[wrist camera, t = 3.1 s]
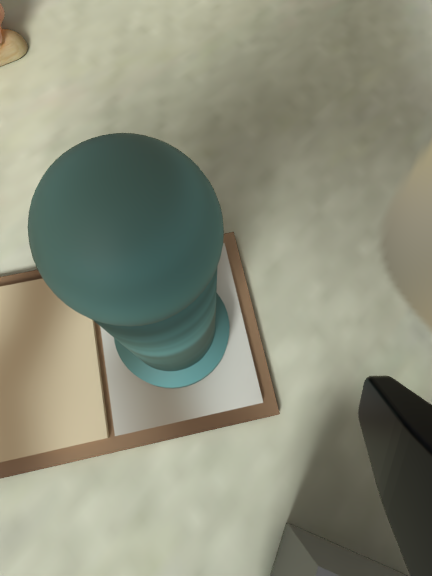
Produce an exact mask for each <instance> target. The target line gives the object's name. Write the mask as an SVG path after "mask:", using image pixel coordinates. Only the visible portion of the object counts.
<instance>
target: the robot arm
mask: <svg viewBox="0 0 432 576" xmlns="http://www.w3.org/2000/svg"><path fill="white" fill-rule="evenodd" d="M358 414H359V422H360V426H361V429H362V433H363V437H364V440H365V444H366V448H367V451H368V455H369V459H370V462H371V466H372V469H373V473H374V477H375V480H376V484H377V488H378V491H379V494H380V498H381V501H382V504H383V507H384V509H385V512H386V515H387V517H388V520H389V523H390V525H391V528H392V530H393V533H394V535H395V538H396V540H397V543H398V546H399V548H400V551H401V553H402V556H403V558H404V561H405V563H406V566H407V569H408V571H409V574H410V576H432V405H431V404H429V403H428V402H427V401H425V400H424V399H422V398H421V397H419V396H418V395H416V394H415V393H413V392H412V391H411V390H409V389H408V388H406V387H405V386H403V385H402V384H400V383H399V382H398V381H396V380H395V379H393V378H391V377H389V376H369V377H367V378H366V380H365V382H364V386H363V390H362V395H361V400H360V405H359V412H358Z"/></svg>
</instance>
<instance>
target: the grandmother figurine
mask: <svg viewBox="0 0 432 576" xmlns="http://www.w3.org/2000/svg"><path fill="white" fill-rule="evenodd" d="M4 16H5V11H4V9H3V7H2V5H1V4H0V66H3V65H5V64H8V63H10V62H13V61H15V60H18V59H20V58H21V57H22V56H24V55H25V53H26V52H27V49H28V46H27V43H26V41H25V40H24V38H23V37H22V36H21V35H20V34H18V33H17V32H15V31H13V30H9V29H2V27H1V23H2V21H3V19H4Z"/></svg>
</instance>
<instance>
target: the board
mask: <svg viewBox="0 0 432 576" xmlns="http://www.w3.org/2000/svg"><path fill="white" fill-rule="evenodd" d="M217 294H218V295H219V296H220V298H221V299H222V301H223V303H224V305H225V307H226V310H227V313H228V318H229V326H230V328H229V338H228V344H227V347H226V351H225V353H224V355H223V358H222V360H221V361H220V363H219V364H218V366H217V367H216V368H215V369H214V370H213V372H211V373H210V374H209V375H208V376H207V377H205V378H204V379H203V380H201V381H199V382H197V383H195V384H193V385H190V386H187V387H182V388H173V389H172V388H162V387H157V386H154V385H151V384H149V383H147V382H145V381H143V380H142V379H140V378H138V377H137V376H136V375H134V374H133V373H132V372H131V371H130V370H129V369H128V368H127V367H126V366H125V365H124V363H123V362H122V360H121V358H120V357H119V354H118V352H117V350H116V346H115V342H114V337H113V336H111V335H110V334H109V333H108V332H107V331H105V330H104V329H103V328H102V327H101V326H99V325H98V324H97V323H96V322H95V321H93V320H92V319H90V318H88V317H86V316H84V315H82V314H80V313H78V312H76V311H75V310H73V309H72V308H70V307H69V306H67V305H66V304H65V303H64V302H63V301H61V300H60V299H59V298H58V297H57V296H56V295H55V294H54V293H53V291H52V290H51V289H50V288H49V287H48V285H47V284H46V283H45V281H44V279H43V278H42V276H41V274H40V273H39V271H38V270H34V271H29V272H24V273H19V274H14V275H8V276H3V277H0V478H4V477H9V476H13V475H18V474H22V473H26V472H31V471H35V470H39V469H44V468H48V467H52V466H57V465H61V464H65V463H70V462H74V461H78V460H83V459H87V458H91V457H96V456H100V455H104V454H109V453H113V452H117V451H122V450H126V449H131V448H135V447H139V446H144V445H148V444H152V443H157V442H161V441H165V440H170V439H174V438H178V437H183V436H187V435H191V434H196V433H200V432H204V431H209V430H213V429H217V428H222V427H226V426H231V425H235V424H239V423H244V422H248V421H252V420H257V419H261V418H265V417H270V416H274V415H278V414H280V413H279V409H278V405H277V401H276V397H275V393H274V389H273V385H272V381H271V377H270V374H269V370H268V366H267V362H266V358H265V354H264V350H263V346H262V342H261V338H260V334H259V330H258V326H257V322H256V318H255V314H254V310H253V306H252V302H251V298H250V294H249V290H248V287H247V283H246V279H245V275H244V271H243V267H242V263H241V259H240V255H239V251H238V247H237V243H236V239H235V235H234V232H231V233H225V234H224V238H223V247H222V252H221V257H220V260H219V263H218V267H217Z"/></svg>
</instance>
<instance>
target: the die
mask: <svg viewBox="0 0 432 576" xmlns="http://www.w3.org/2000/svg"><path fill="white" fill-rule="evenodd" d="M270 576H407V575H405V574H403V573H401V572H398V571H396V570H394V569H391V568H389V567H387V566H385V565H382V564H380V563H378V562H375V561H373V560H371V559H369V558H366V557H364V556H362V555H360V554H357V553H355V552H353V551H350V550H348V549H346V548H344V547H341V546H339V545H337V544H334V543H332V542H330V541H328V540H325V539H323V538H321V537H319V536H316V535H314V534H312V533H309V532H307V531H305V530H303V529H300V528H298V527H296V526H293V525H291V524H289V523H286V526H285V530H284V533H283V536H282V539H281V543H280V546H279V549H278V552H277V556H276V559H275V562H274V566H273V569H272V572H271V575H270Z"/></svg>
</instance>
